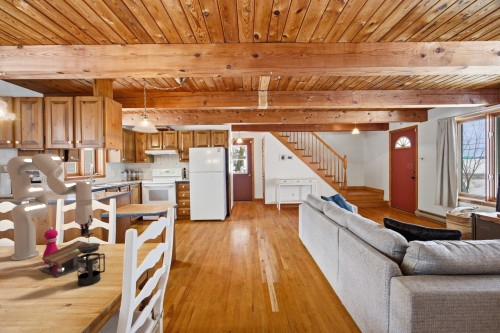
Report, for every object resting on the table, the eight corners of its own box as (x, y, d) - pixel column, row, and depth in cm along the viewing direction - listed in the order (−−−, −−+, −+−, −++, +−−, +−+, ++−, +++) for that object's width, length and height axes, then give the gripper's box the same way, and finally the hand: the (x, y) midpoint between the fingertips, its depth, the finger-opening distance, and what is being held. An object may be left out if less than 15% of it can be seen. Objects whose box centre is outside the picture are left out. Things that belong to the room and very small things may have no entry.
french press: (76, 289, 108) (75, 237, 108) (74, 281, 115) (73, 233, 115) (106, 280, 116) (106, 232, 115) (102, 273, 123) (102, 228, 122)
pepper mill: (50, 265, 133) (49, 229, 132) (39, 264, 134) (39, 228, 134) (62, 260, 140) (62, 225, 139) (52, 259, 141) (52, 225, 141)
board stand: (39, 271, 125) (39, 259, 125) (80, 257, 143) (80, 246, 143) (57, 277, 118) (56, 264, 118) (97, 262, 137) (97, 251, 136)
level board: (42, 260, 126) (41, 255, 126) (78, 242, 142) (77, 238, 141) (58, 265, 120) (57, 260, 119) (94, 246, 135) (93, 242, 135)
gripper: (69, 203, 137) (69, 235, 137) (85, 204, 131) (86, 238, 131) (83, 201, 144) (83, 232, 144) (99, 202, 137) (99, 235, 138)
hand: (84, 235), depth 137 cm, fingers closed
